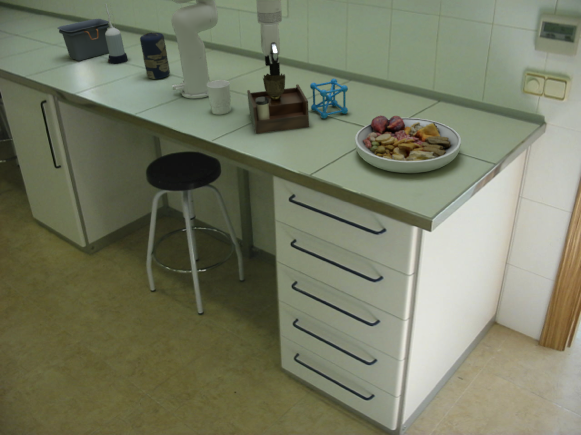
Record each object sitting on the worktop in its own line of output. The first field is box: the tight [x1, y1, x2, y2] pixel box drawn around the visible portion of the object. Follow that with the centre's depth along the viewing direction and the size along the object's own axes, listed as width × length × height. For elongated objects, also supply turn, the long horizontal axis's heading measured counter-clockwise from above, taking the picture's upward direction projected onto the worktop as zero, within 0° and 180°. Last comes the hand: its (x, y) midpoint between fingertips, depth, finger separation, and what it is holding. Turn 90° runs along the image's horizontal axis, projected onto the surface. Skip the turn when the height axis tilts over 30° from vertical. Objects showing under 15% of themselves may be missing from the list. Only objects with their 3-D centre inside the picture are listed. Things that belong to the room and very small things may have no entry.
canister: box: [139, 32, 171, 80], centre depth 241 cm, size 10×10×18 cm
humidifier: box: [104, 2, 129, 65], centre depth 260 cm, size 8×8×25 cm
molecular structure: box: [309, 78, 349, 120], centre depth 201 cm, size 10×10×10 cm
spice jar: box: [255, 97, 270, 121], centre depth 191 cm, size 4×4×7 cm
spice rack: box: [246, 83, 310, 135], centre depth 197 cm, size 18×16×9 cm
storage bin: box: [57, 18, 110, 62], centre depth 272 cm, size 21×16×14 cm
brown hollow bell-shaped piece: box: [262, 72, 286, 101], centre depth 196 cm, size 8×7×8 cm
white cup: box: [207, 79, 232, 115], centre depth 207 cm, size 8×8×10 cm
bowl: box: [354, 115, 462, 174], centre depth 172 cm, size 30×30×8 cm
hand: (272, 70), depth 194 cm, fingers open, 9 cm apart
